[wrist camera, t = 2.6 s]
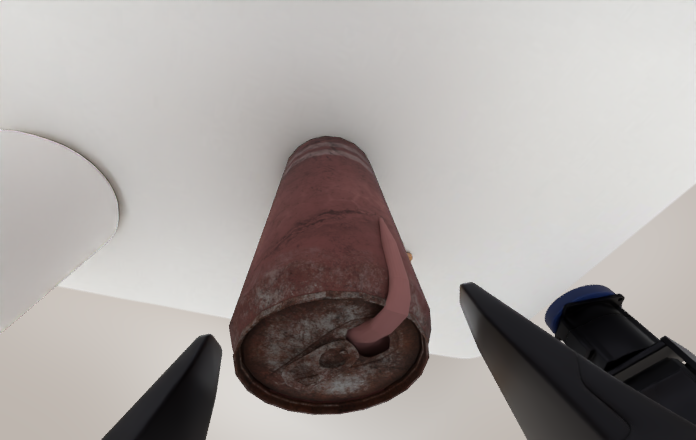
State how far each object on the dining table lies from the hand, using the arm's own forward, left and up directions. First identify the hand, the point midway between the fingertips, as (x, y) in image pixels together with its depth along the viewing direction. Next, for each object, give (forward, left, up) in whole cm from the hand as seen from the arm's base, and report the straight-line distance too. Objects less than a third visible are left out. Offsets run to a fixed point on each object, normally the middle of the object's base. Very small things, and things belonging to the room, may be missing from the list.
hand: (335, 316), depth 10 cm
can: (0, -1, -12) cm, 12 cm away
